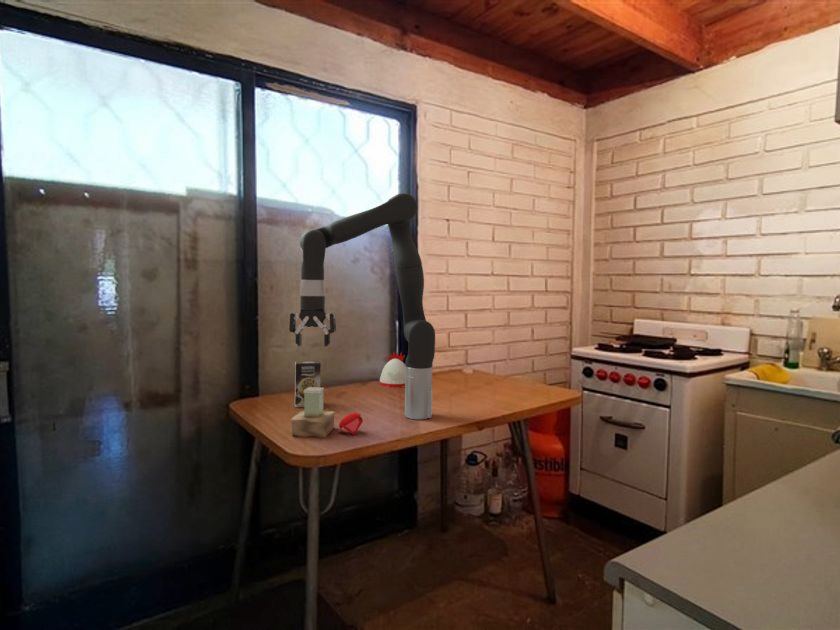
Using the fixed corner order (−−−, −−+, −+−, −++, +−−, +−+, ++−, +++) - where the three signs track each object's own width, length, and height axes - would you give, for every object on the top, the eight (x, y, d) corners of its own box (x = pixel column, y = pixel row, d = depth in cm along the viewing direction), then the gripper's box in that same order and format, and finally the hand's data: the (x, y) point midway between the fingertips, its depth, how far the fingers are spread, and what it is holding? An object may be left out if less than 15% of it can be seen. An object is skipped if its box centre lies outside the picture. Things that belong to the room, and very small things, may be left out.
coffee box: (294, 407, 179) (295, 363, 178) (294, 403, 185) (294, 360, 184) (320, 406, 181) (320, 362, 180) (319, 402, 187) (319, 360, 186)
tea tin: (323, 413, 152) (323, 387, 152) (319, 417, 148) (319, 390, 147) (308, 413, 153) (308, 387, 152) (303, 417, 148) (303, 390, 147)
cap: (365, 418, 154) (349, 408, 154) (366, 417, 148) (349, 406, 148) (351, 441, 151) (334, 430, 151) (351, 440, 146) (334, 429, 146)
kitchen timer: (410, 388, 217) (410, 354, 216) (378, 387, 217) (379, 353, 216) (410, 381, 231) (410, 349, 230) (380, 381, 231) (381, 349, 230)
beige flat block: (335, 427, 155) (335, 411, 155) (326, 437, 145) (326, 420, 144) (302, 425, 156) (302, 410, 156) (290, 436, 145) (290, 419, 145)
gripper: (337, 294, 158) (337, 345, 159) (293, 294, 159) (294, 344, 160) (332, 295, 151) (332, 348, 152) (286, 294, 151) (286, 347, 152)
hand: (312, 346), depth 156 cm, fingers open, 8 cm apart
